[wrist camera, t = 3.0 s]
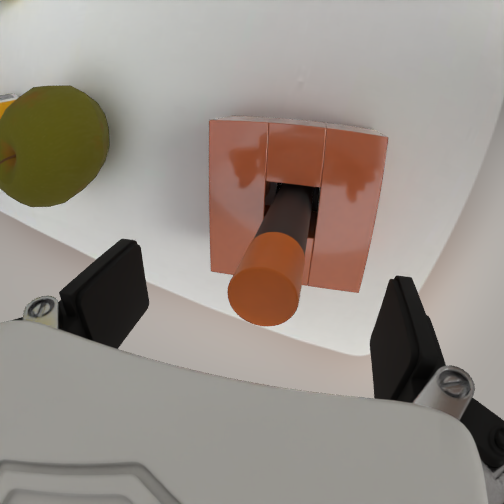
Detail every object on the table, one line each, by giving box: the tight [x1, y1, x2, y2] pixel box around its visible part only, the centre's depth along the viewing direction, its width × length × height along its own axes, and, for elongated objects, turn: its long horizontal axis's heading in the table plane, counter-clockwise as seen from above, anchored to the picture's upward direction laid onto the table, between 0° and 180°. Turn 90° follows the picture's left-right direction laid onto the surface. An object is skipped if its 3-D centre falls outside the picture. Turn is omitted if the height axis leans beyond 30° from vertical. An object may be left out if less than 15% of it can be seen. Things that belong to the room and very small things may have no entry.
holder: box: [209, 116, 388, 293], centre depth 21 cm, size 10×10×5 cm
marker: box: [228, 183, 314, 326], centre depth 17 cm, size 2×2×14 cm
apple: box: [0, 86, 109, 207], centre depth 20 cm, size 10×10×11 cm
